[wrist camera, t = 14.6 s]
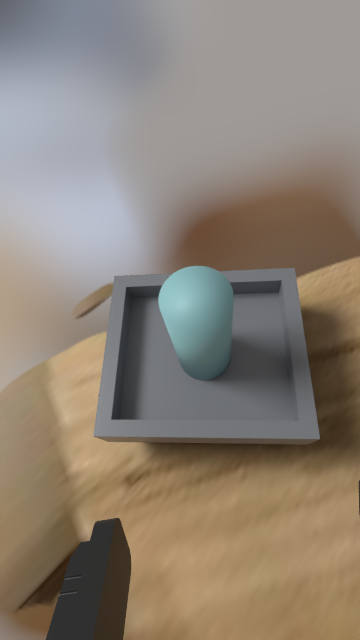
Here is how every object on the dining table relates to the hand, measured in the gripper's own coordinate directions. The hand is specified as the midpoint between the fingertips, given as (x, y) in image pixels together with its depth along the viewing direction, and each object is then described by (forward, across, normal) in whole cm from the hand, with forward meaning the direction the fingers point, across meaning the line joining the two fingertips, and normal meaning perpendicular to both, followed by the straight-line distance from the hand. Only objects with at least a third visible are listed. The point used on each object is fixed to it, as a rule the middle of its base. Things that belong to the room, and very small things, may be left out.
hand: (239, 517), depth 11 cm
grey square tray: (+21, 0, +5) cm, 22 cm away
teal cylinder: (+18, 0, +2) cm, 18 cm away
